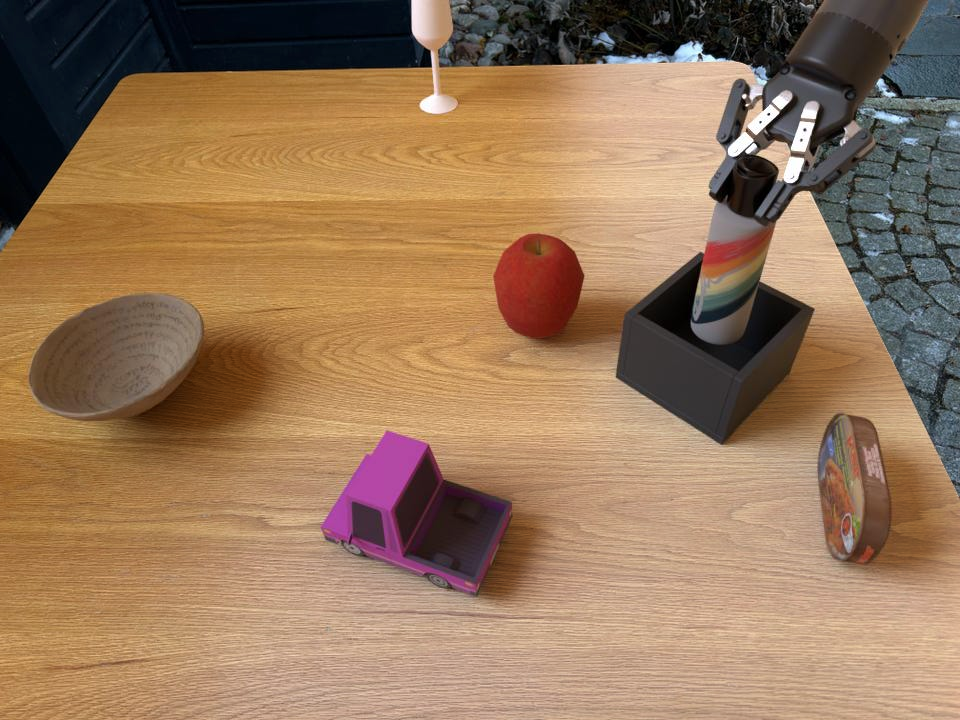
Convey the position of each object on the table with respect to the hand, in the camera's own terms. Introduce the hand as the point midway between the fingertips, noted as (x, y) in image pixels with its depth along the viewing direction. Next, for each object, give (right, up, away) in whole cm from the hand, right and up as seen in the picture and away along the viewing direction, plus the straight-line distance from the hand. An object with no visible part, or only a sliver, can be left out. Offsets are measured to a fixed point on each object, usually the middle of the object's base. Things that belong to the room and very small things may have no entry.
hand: (737, 209), depth 67 cm
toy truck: (-29, -31, +5) cm, 42 cm away
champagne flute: (-30, +31, +64) cm, 77 cm away
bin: (+2, -15, +18) cm, 24 cm away
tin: (+12, -28, +6) cm, 31 cm away
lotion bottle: (+2, -10, +13) cm, 16 cm away
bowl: (-62, -18, +19) cm, 67 cm away
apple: (-16, -10, +24) cm, 31 cm away
